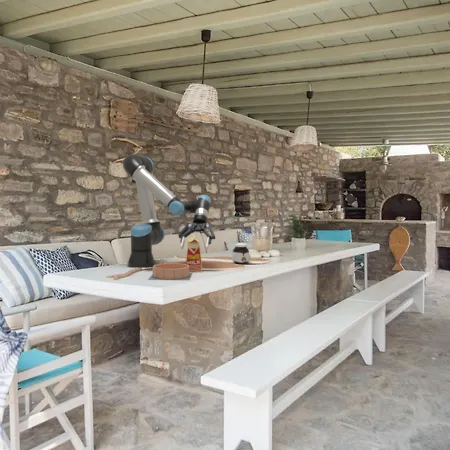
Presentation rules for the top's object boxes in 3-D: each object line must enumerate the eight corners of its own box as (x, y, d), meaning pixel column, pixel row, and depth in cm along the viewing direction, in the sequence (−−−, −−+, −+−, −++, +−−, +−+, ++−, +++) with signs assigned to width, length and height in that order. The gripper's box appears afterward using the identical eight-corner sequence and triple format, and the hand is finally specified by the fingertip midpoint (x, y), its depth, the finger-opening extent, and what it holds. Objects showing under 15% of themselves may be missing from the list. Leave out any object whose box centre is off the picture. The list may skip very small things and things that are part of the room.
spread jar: (233, 264, 262) (233, 244, 261) (230, 261, 273) (230, 242, 272) (253, 264, 263) (253, 244, 263) (249, 261, 275) (249, 242, 274)
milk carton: (184, 270, 239) (185, 233, 238) (201, 270, 240) (202, 233, 239) (184, 273, 230) (184, 235, 229) (202, 273, 231) (202, 235, 230)
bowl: (150, 279, 211) (150, 269, 211) (156, 272, 229) (156, 263, 229) (187, 279, 211) (187, 269, 211) (190, 273, 229) (190, 263, 229)
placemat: (147, 280, 210) (147, 279, 210) (154, 272, 230) (154, 272, 230) (189, 281, 210) (189, 280, 210) (192, 273, 230) (192, 272, 230)
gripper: (223, 222, 247) (218, 253, 234) (180, 222, 252) (173, 251, 238) (221, 213, 242) (216, 244, 228) (177, 213, 246) (170, 243, 232)
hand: (194, 248), depth 233 cm, fingers open, 13 cm apart
